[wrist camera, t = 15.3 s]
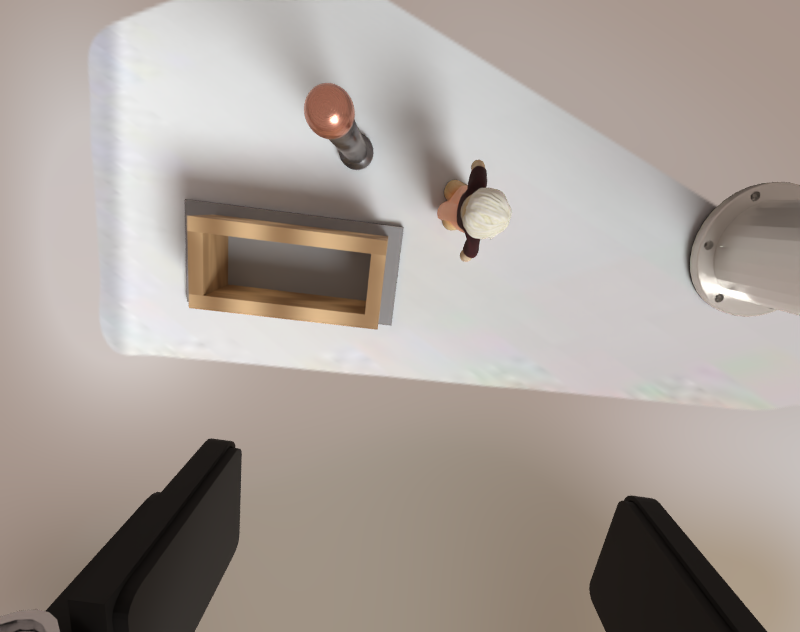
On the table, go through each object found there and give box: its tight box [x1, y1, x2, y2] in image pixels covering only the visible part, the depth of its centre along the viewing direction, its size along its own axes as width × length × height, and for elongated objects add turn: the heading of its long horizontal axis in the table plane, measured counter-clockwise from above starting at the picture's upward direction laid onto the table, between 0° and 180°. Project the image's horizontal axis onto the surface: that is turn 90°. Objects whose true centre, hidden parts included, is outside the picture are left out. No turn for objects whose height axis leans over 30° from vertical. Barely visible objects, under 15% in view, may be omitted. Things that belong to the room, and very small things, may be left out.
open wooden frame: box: [187, 215, 388, 329], centre depth 34 cm, size 16×8×5 cm, turn 83°
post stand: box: [304, 83, 373, 170], centre depth 27 cm, size 3×3×16 cm
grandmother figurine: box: [437, 160, 512, 262], centre depth 30 cm, size 8×4×13 cm, turn 6°
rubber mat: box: [185, 199, 403, 325], centre depth 37 cm, size 20×10×1 cm, turn 83°
